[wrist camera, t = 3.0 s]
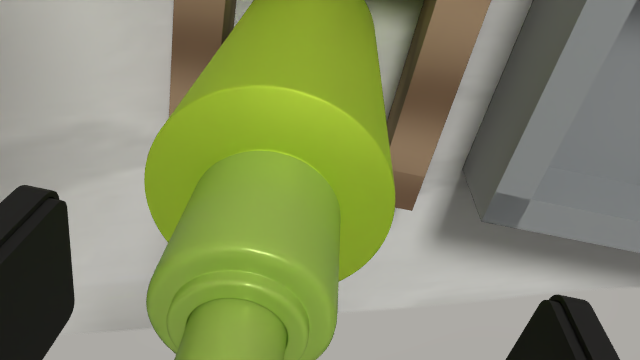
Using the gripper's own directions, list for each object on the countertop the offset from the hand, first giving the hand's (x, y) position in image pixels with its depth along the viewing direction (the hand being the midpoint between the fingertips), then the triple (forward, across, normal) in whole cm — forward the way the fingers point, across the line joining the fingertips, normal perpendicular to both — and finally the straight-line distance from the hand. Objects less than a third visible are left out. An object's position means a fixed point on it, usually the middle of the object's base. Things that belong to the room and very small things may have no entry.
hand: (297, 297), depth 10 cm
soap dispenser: (+16, +1, -1) cm, 16 cm away
